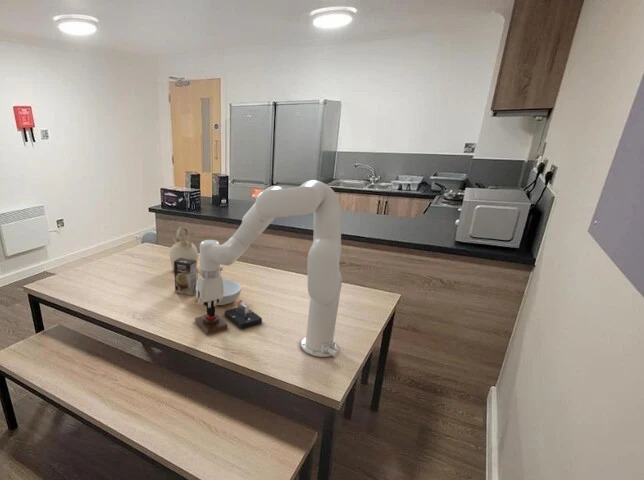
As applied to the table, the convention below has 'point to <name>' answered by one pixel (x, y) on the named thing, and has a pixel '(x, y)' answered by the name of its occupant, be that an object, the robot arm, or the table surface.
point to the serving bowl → (229, 291)
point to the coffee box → (185, 276)
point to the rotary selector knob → (243, 308)
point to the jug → (183, 248)
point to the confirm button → (210, 317)
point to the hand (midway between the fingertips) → (210, 314)
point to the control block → (211, 324)
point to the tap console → (242, 321)
